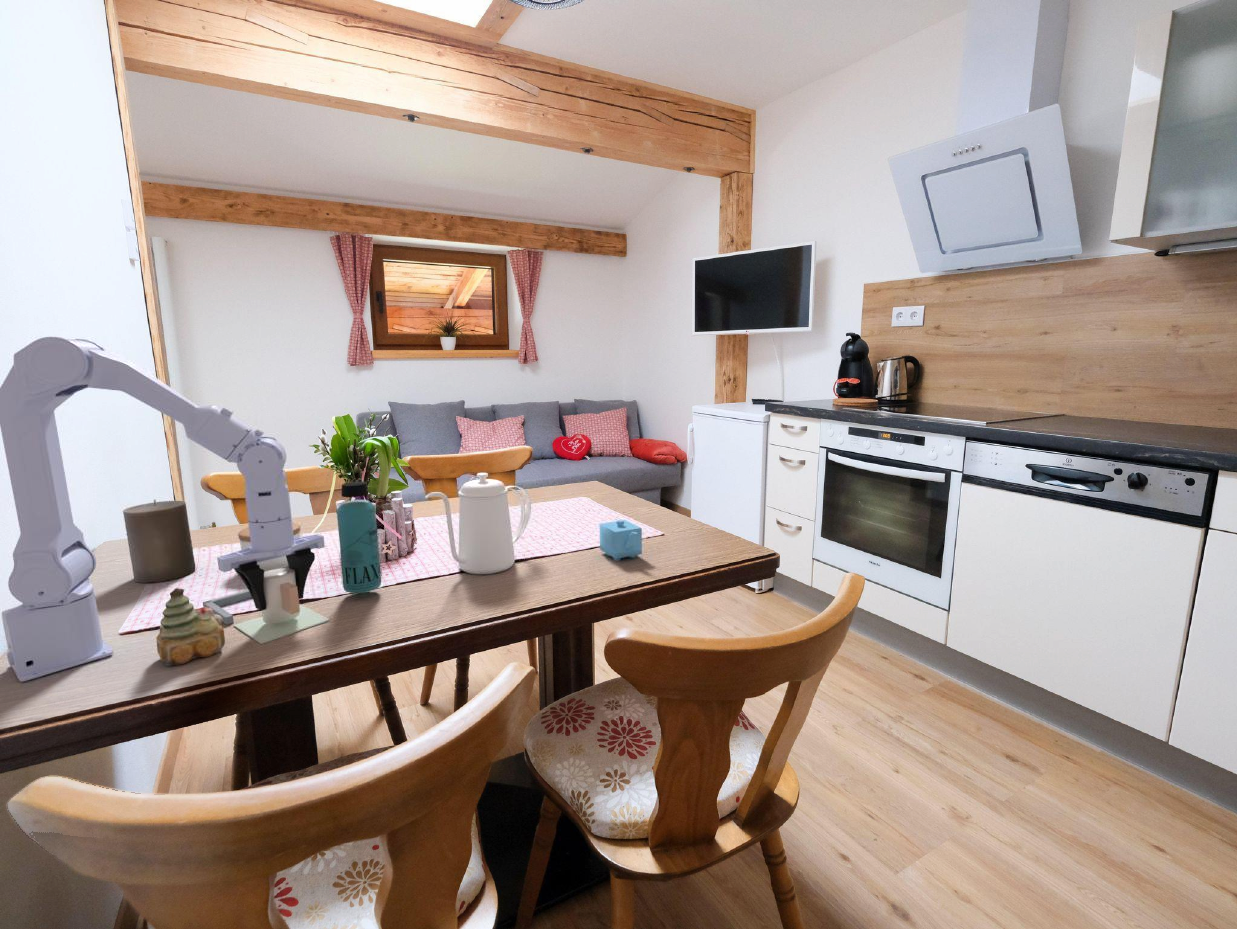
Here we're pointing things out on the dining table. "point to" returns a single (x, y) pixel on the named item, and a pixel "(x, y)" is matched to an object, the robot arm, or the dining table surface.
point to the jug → (280, 596)
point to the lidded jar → (272, 563)
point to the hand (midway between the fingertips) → (279, 602)
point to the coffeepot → (485, 525)
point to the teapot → (620, 539)
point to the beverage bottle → (358, 541)
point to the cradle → (225, 600)
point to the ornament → (188, 631)
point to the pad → (280, 626)
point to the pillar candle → (159, 541)
